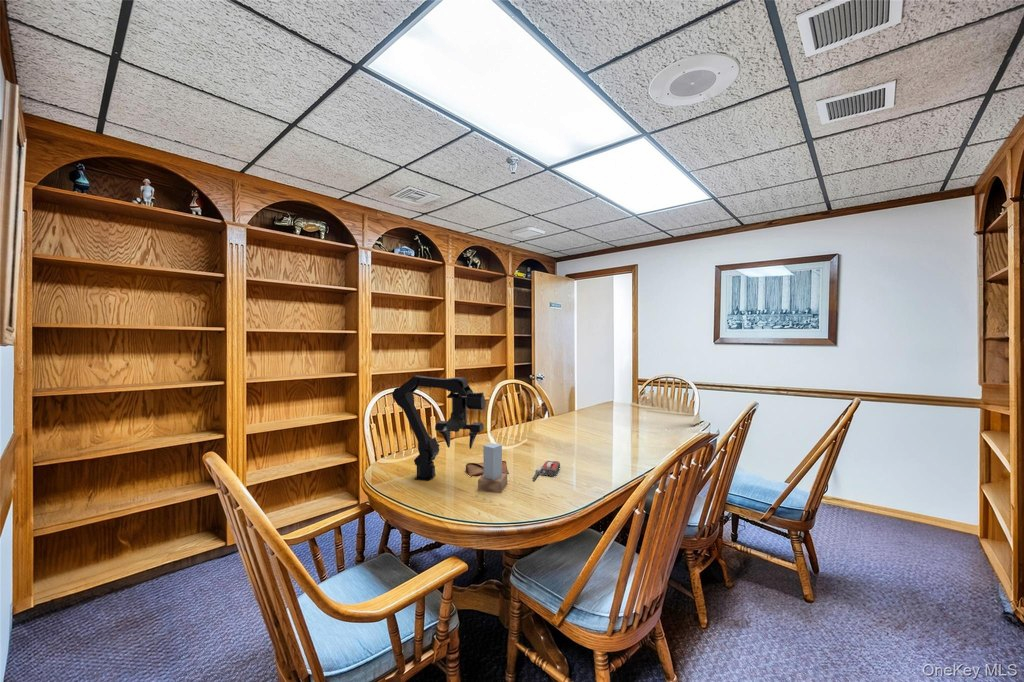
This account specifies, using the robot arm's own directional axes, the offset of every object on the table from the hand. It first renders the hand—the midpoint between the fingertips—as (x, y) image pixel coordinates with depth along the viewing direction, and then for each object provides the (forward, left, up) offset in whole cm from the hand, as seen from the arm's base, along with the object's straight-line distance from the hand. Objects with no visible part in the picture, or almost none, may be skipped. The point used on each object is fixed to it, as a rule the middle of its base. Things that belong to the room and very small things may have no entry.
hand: (459, 448), depth 158 cm
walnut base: (+15, -4, -13) cm, 20 cm away
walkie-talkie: (+33, +15, -14) cm, 39 cm away
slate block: (+15, -4, -9) cm, 18 cm away
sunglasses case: (+8, +11, -14) cm, 20 cm away
